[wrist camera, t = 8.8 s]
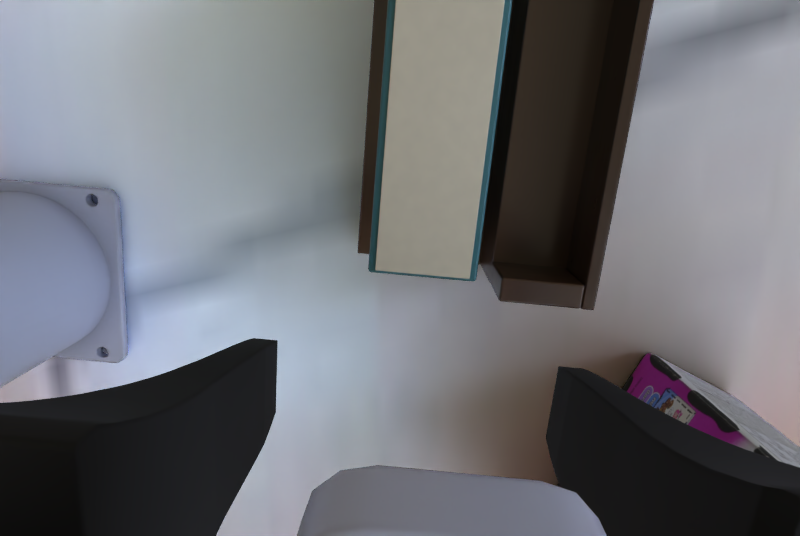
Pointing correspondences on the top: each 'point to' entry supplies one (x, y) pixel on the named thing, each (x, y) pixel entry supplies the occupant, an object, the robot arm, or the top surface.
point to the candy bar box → (707, 409)
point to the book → (436, 135)
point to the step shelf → (546, 144)
